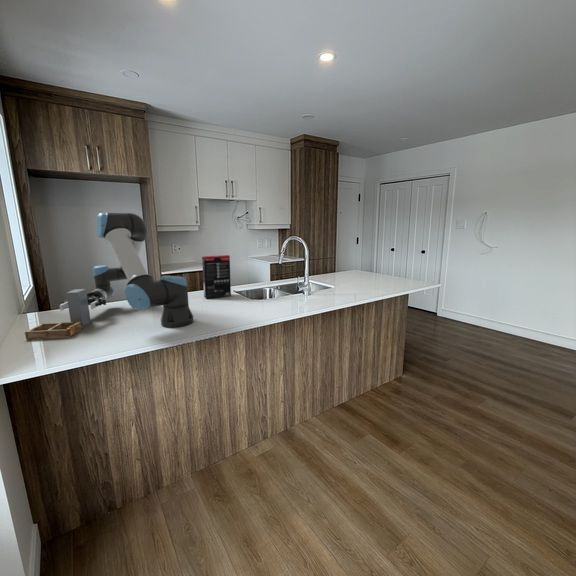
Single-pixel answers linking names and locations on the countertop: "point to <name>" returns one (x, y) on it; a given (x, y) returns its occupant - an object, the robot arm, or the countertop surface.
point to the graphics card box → (216, 276)
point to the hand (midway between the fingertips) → (76, 307)
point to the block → (78, 306)
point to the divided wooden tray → (54, 330)
